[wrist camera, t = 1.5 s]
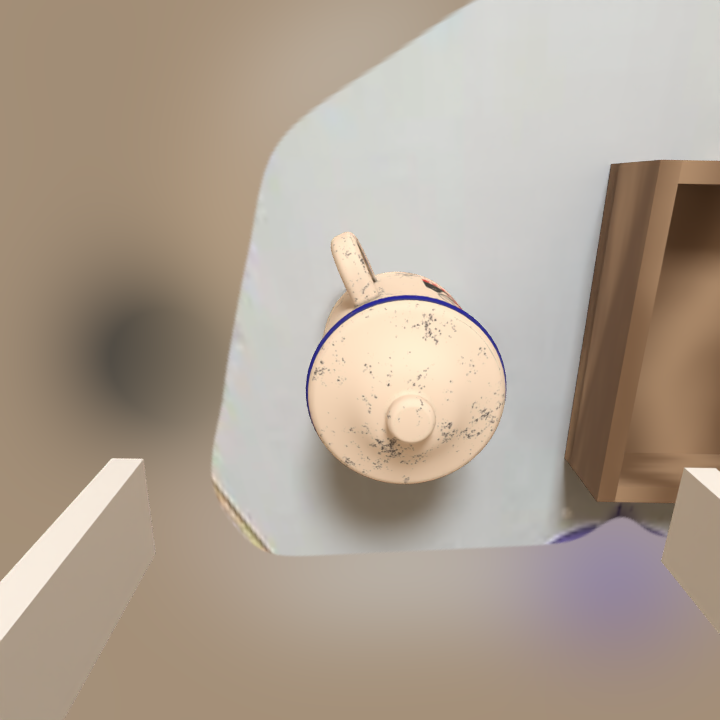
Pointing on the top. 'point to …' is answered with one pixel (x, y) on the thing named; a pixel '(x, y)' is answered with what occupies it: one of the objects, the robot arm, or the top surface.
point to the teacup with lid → (402, 375)
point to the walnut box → (651, 335)
